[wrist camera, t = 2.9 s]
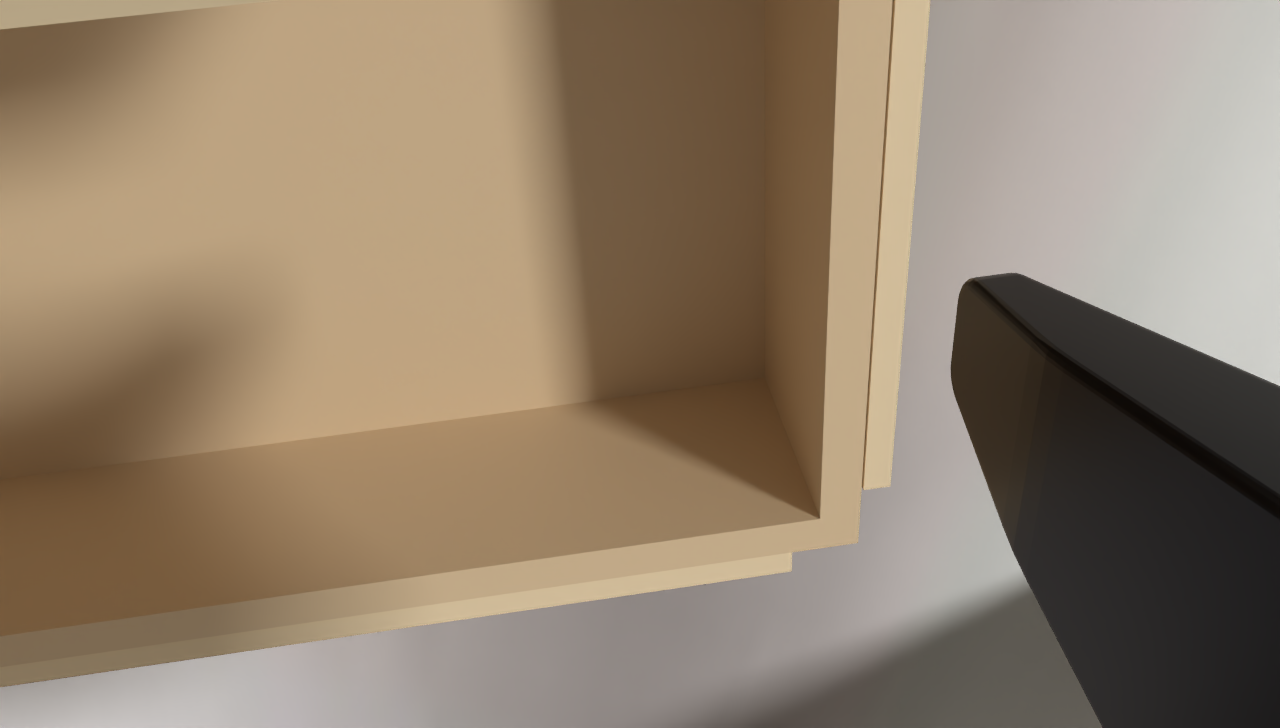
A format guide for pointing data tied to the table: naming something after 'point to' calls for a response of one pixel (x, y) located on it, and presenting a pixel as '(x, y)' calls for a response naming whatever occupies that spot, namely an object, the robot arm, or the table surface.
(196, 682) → the table surface
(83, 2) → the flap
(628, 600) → the table surface
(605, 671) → the table surface
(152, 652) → the carton
